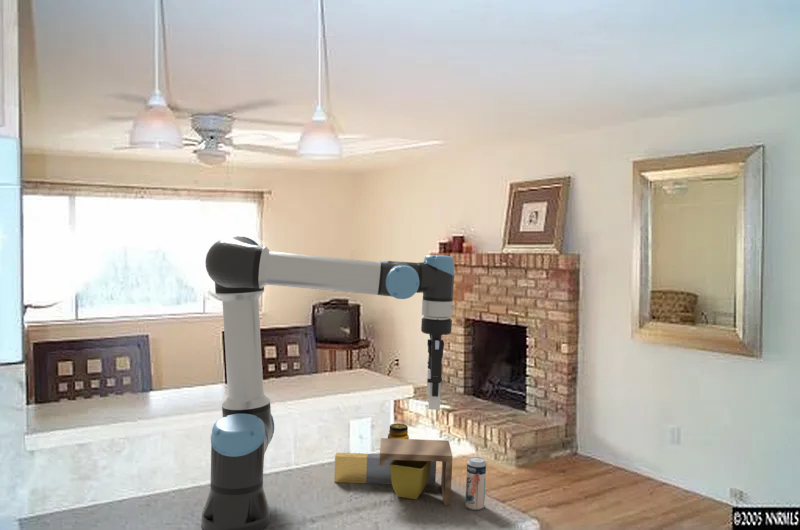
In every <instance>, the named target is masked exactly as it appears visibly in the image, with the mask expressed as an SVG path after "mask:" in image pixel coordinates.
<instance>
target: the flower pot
mask: <svg viewBox="0 0 800 530" xmlns="http://www.w3.org/2000/svg"><path fill="white" fill-rule="evenodd" d="M430 466H431V461H413V460H394V461H393V462H392V463H391V464H390V471H391V482H392V484H391V486H392V488H393V490H394V493H395V494H396V496H397V497H399V498H404V499H405V498H406V499H411V500H417V499H419V497H420V495H421V494H422V493H423V491H424V490H425V488H426V486H427V485H426V483H427V481H428V477H429V472H430Z"/></svg>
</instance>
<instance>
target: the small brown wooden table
mask: <svg viewBox="0 0 800 530" xmlns="http://www.w3.org/2000/svg"><path fill="white" fill-rule="evenodd" d="M379 445H380V446H379V447H380V448H379V454H380V463H379V465H386V460H413V461H436V462H441V476H440V478H441V479H440V480H441V482H440V489H441V493H442V498H443V499H442V500H443V505H444V506H451V499H452V498H451V496H452V476H453V473H452V472H453V452H452V448H451V444H450V440H444V439H442V440H441V439H439V440H438V439H420V438H419V439H416V438H415V439H414V438H413V439H412V438H411V439H410V438H409V439H391V438H388V437H385V438H384V437H382V438H380V444H379Z"/></svg>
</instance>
